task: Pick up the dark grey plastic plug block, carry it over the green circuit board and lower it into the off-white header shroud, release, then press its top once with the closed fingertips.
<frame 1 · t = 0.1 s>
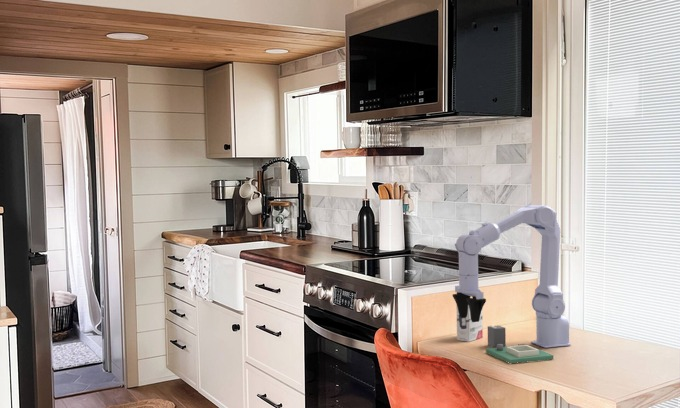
hand: (469, 319, 208), 10 cm above the worktop, fingers open, 7 cm apart
board: (518, 355, 203), on the worktop
plug: (496, 346, 215), on the worktop
ink box: (469, 339, 226), on the worktop
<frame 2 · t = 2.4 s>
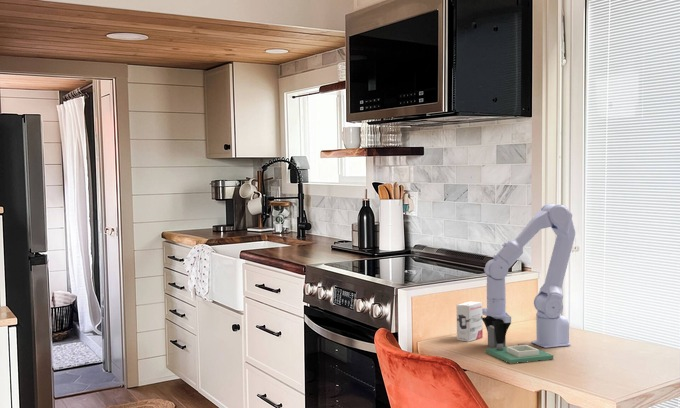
hand: (496, 341, 215), 1 cm above the worktop, fingers closed on plug, 4 cm apart
plug: (496, 346, 215), on the worktop, touching gripper
everything else where it was.
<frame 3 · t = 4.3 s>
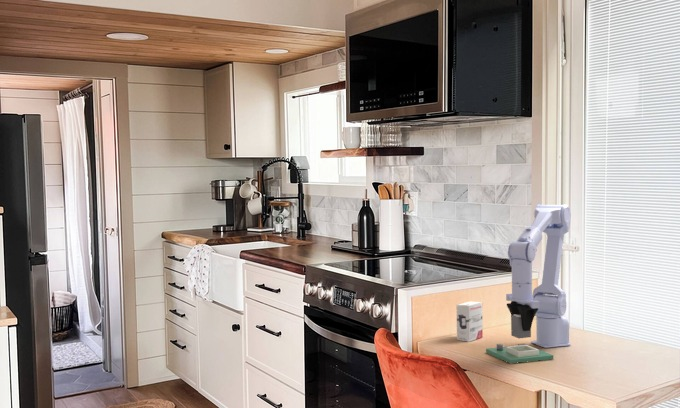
hand: (522, 329, 200), 8 cm above the worktop, fingers closed on plug, 4 cm apart
plug: (521, 336, 200), point 6 cm above the worktop, touching gripper
everything else where it was.
when the fingers open (4 cm above the worktop, at t = 6.0 s): plug stays where it is, resting on board.
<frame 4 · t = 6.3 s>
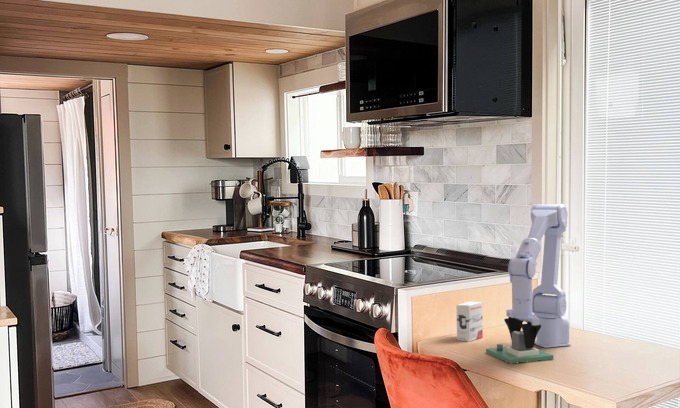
hand: (522, 345, 201), 4 cm above the worktop, fingers open, 7 cm apart
plug: (521, 353, 200), point 1 cm above the worktop, touching board
everything else where it was.
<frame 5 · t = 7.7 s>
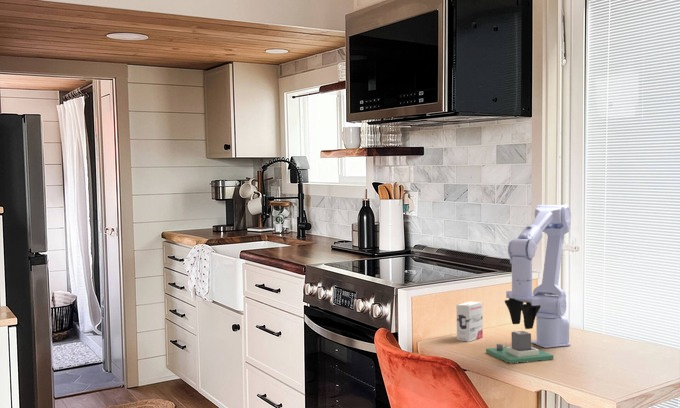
hand: (522, 326, 200), 9 cm above the worktop, fingers open, 6 cm apart
nothing on the worktop moved.
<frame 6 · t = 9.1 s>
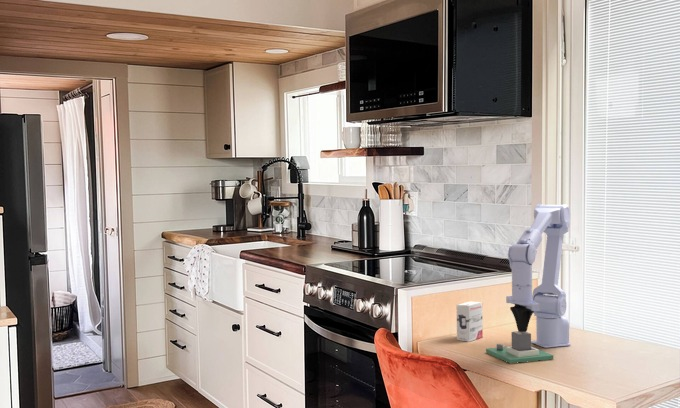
hand: (522, 331, 200), 8 cm above the worktop, fingers closed
nothing on the worktop moved.
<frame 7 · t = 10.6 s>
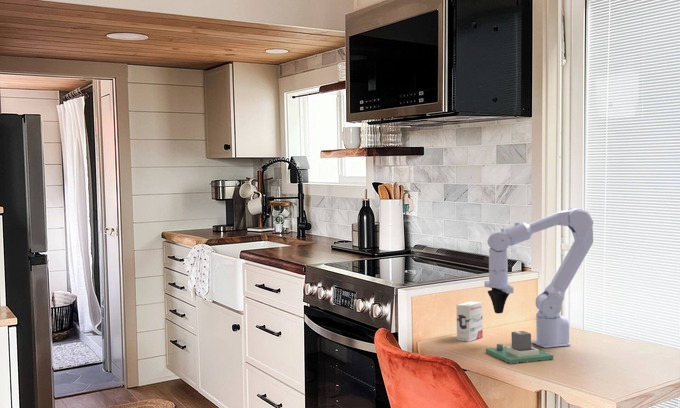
hand: (498, 312, 217), 10 cm above the worktop, fingers closed
nothing on the worktop moved.
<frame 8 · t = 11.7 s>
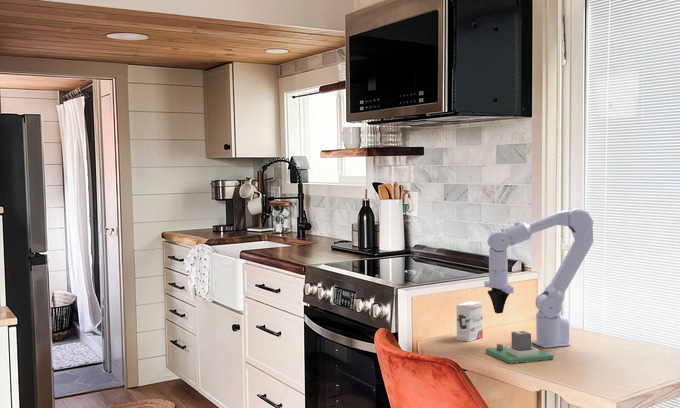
hand: (498, 312, 217), 10 cm above the worktop, fingers closed
nothing on the worktop moved.
at the end: plug 0.4 cm from the target spot on the board, point 1.3 cm above the board's base; plug tilted 0°; the gripper is holding nothing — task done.
